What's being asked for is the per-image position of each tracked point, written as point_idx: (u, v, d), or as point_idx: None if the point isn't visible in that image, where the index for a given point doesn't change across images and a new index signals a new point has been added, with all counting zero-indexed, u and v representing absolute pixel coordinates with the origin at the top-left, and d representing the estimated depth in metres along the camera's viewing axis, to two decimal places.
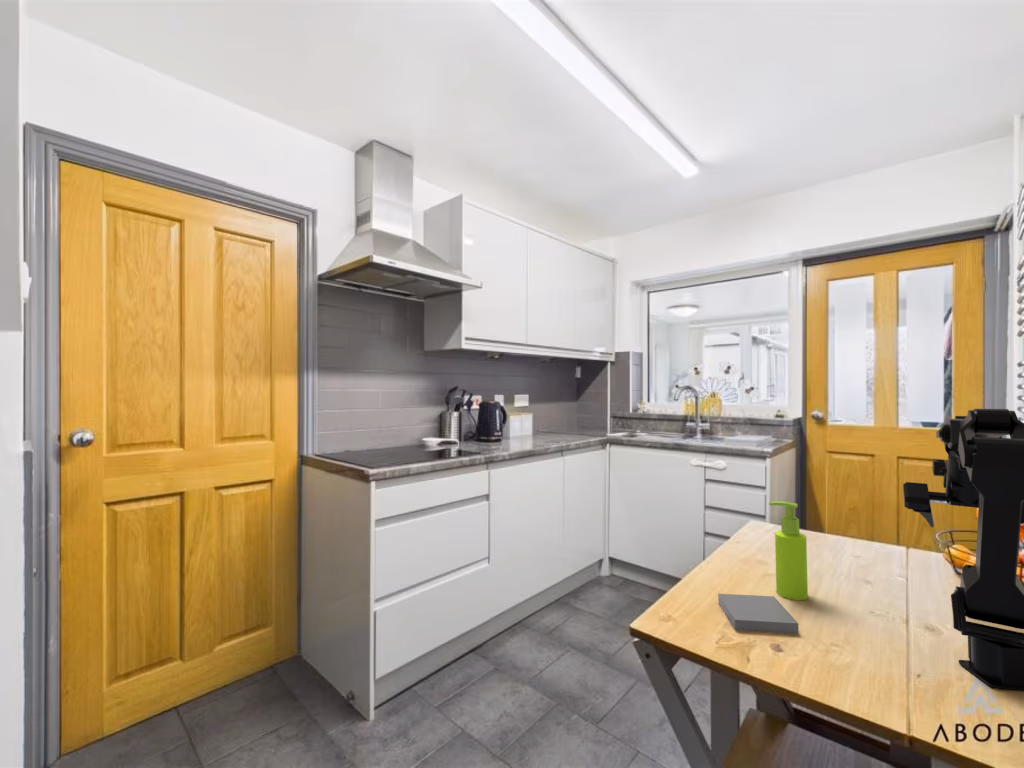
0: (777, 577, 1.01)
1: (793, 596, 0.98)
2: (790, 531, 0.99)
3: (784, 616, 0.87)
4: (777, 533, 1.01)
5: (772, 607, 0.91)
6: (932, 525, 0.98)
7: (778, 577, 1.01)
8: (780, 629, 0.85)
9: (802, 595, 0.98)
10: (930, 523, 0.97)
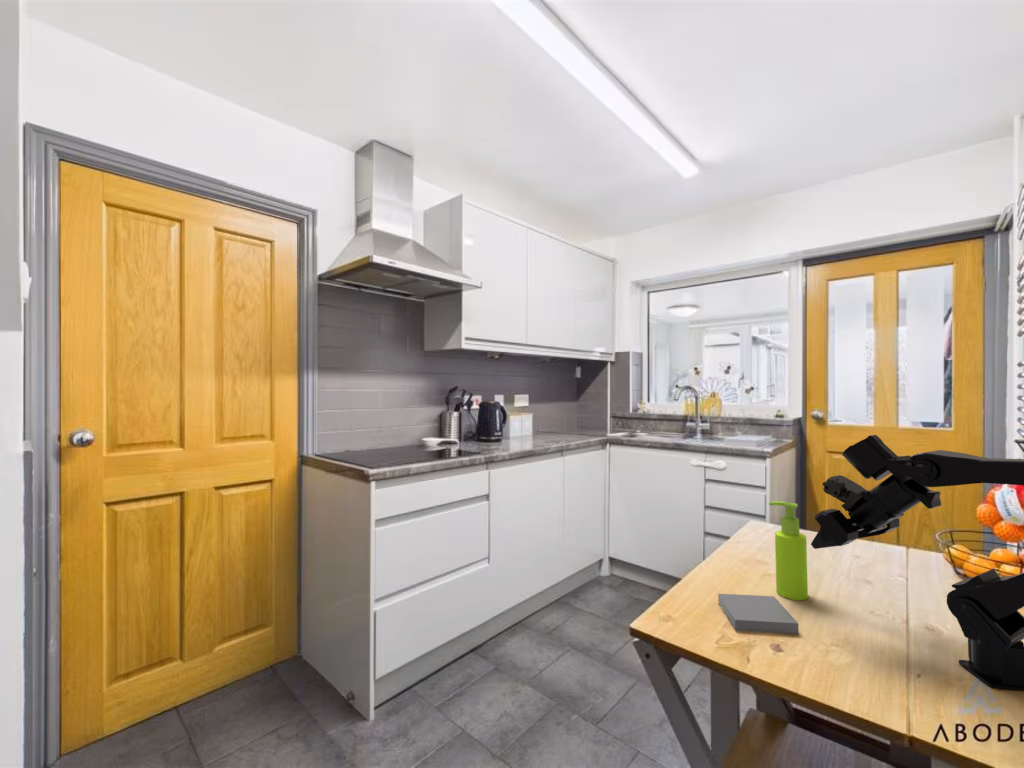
0: (777, 577, 1.01)
1: (793, 596, 0.98)
2: (790, 531, 0.99)
3: (784, 616, 0.87)
4: (777, 533, 1.01)
5: (772, 607, 0.91)
6: None
7: (778, 577, 1.01)
8: (780, 629, 0.85)
9: (802, 595, 0.98)
10: (823, 547, 0.89)
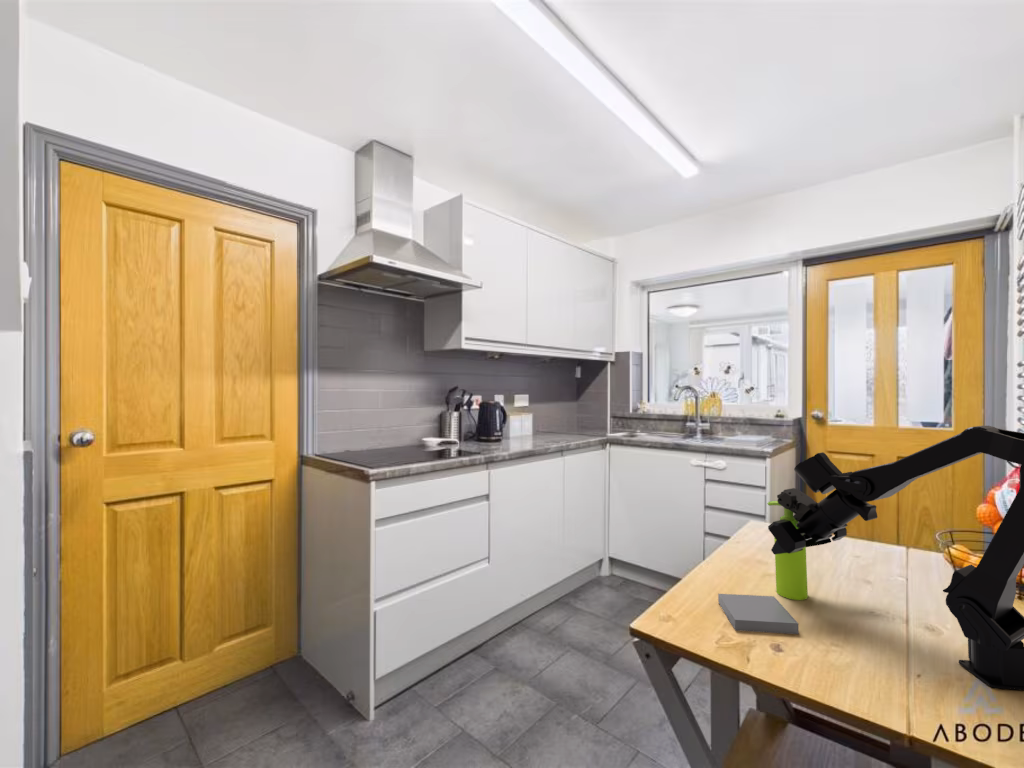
0: (777, 577, 1.01)
1: (793, 596, 0.98)
2: None
3: (784, 616, 0.87)
4: None
5: (772, 607, 0.91)
6: (779, 553, 1.00)
7: (777, 577, 1.01)
8: (780, 629, 0.85)
9: (802, 595, 0.98)
10: (781, 553, 0.99)
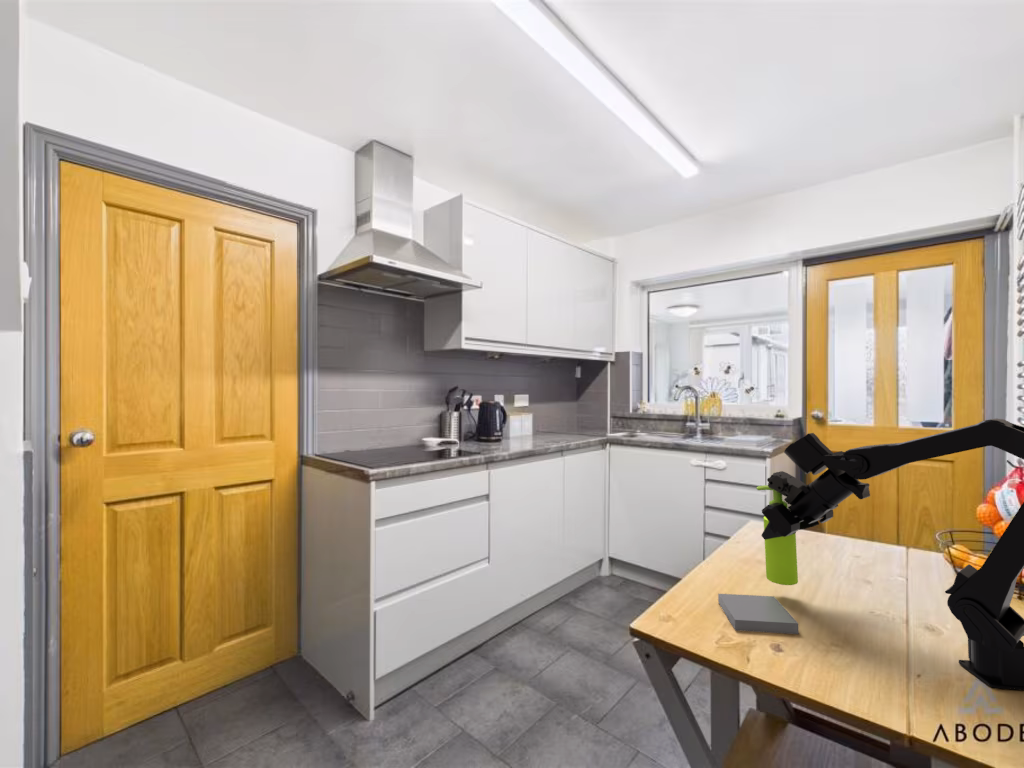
0: (767, 563, 0.99)
1: (785, 581, 0.96)
2: None
3: (784, 616, 0.87)
4: (766, 518, 0.99)
5: (772, 607, 0.91)
6: (770, 538, 0.97)
7: (768, 563, 0.98)
8: (780, 629, 0.85)
9: (793, 580, 0.96)
10: None
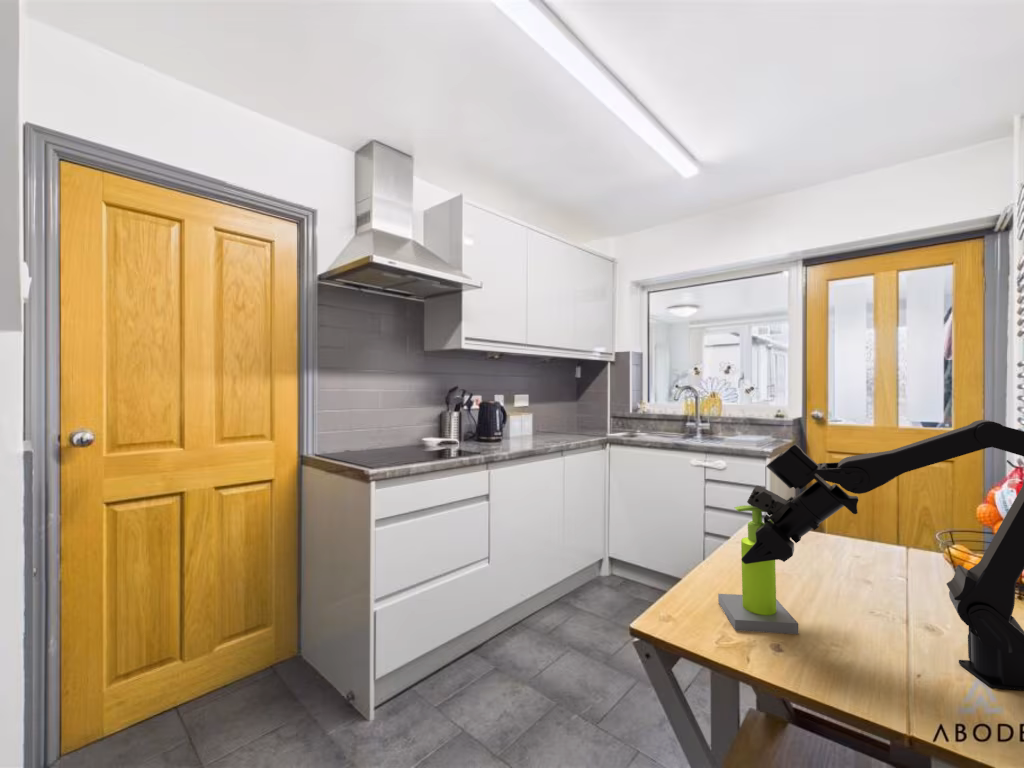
0: (748, 592, 0.89)
1: (768, 611, 0.88)
2: None
3: (784, 616, 0.87)
4: (746, 542, 0.90)
5: None
6: None
7: (749, 592, 0.89)
8: (780, 629, 0.85)
9: (775, 608, 0.88)
10: None
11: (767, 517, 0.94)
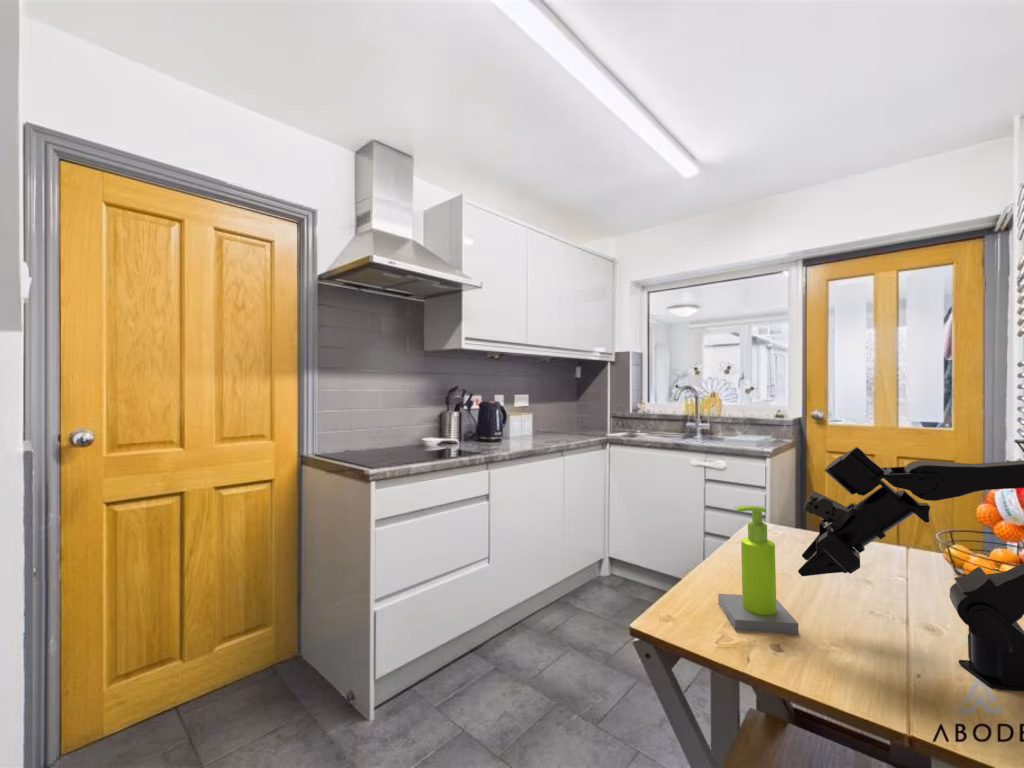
0: (748, 592, 0.89)
1: (768, 611, 0.88)
2: (762, 538, 0.89)
3: (784, 616, 0.87)
4: (746, 542, 0.90)
5: None
6: None
7: (749, 592, 0.89)
8: (780, 629, 0.85)
9: (775, 608, 0.88)
10: None
11: (822, 524, 0.89)
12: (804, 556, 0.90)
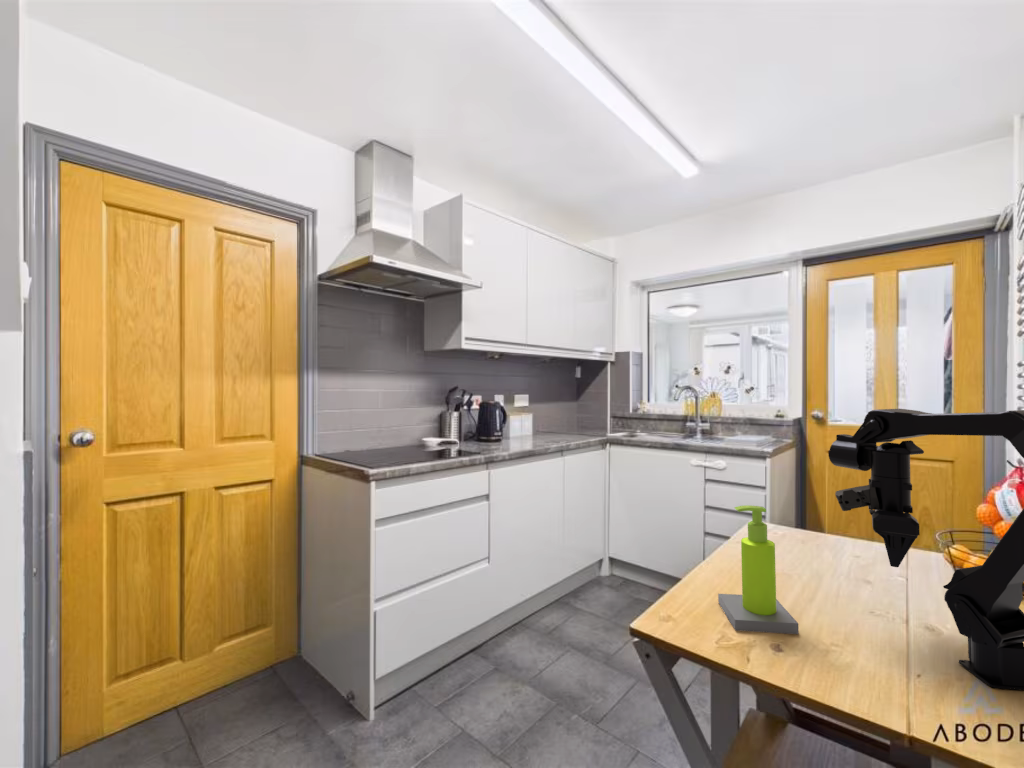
0: (748, 592, 0.89)
1: (768, 611, 0.88)
2: (762, 538, 0.89)
3: (784, 616, 0.87)
4: (746, 542, 0.90)
5: None
6: (901, 561, 0.82)
7: (749, 592, 0.89)
8: (780, 629, 0.85)
9: (775, 608, 0.88)
10: None
11: (872, 512, 0.93)
12: None
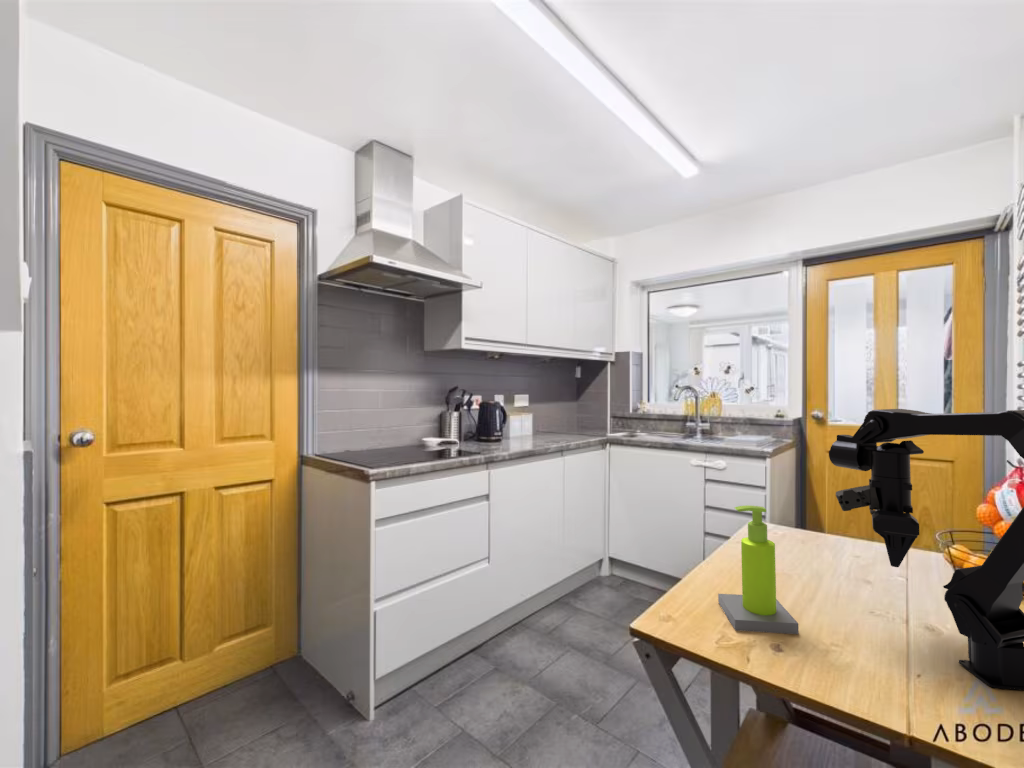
0: (748, 592, 0.89)
1: (768, 611, 0.88)
2: (762, 539, 0.89)
3: (784, 616, 0.87)
4: (746, 542, 0.90)
5: None
6: (901, 561, 0.82)
7: (749, 592, 0.89)
8: (780, 629, 0.85)
9: (775, 608, 0.88)
10: None
11: (873, 512, 0.93)
12: None
